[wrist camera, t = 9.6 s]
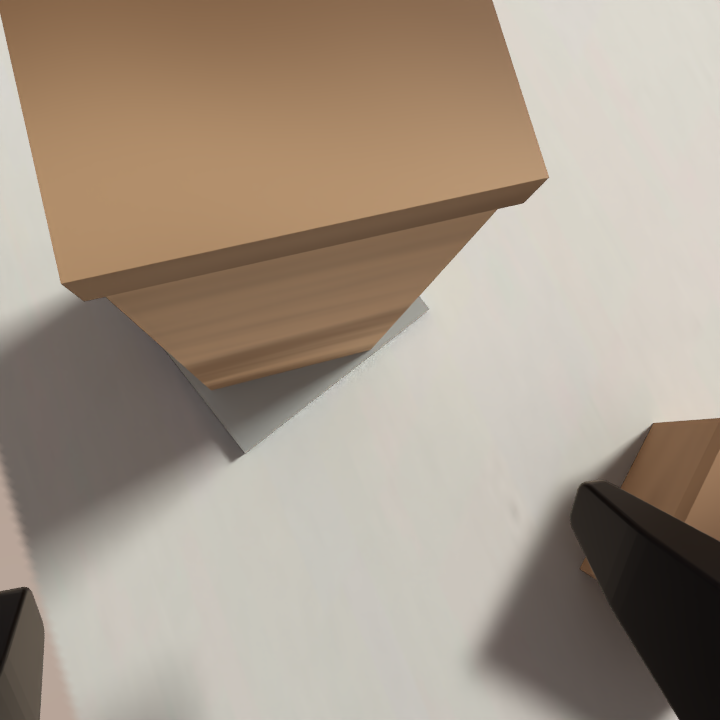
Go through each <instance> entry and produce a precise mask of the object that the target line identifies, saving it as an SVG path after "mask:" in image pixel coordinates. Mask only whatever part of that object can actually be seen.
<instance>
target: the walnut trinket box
mask: <svg viewBox="0 0 720 720" xmlns="http://www.w3.org/2000/svg"><path fill="white" fill-rule="evenodd" d="M621 489H623V490H624V491H626V492H628V493H630V494H632V495H634V496H636V497H638V498H640V499H641V500H643V501H645V502H647V503H649V504H651V505H653V506H655V507H656V508H658V509H660V510H662V511H664V512H666V513H668V514H670V515H671V516H673V517H675V518H677V519H679V520H681V521H683V522H685V523H687V524H688V525H690V526H692V527H694V528H696V529H698V530H700V531H702V532H703V533H705V534H707V535H709V536H711V537H713V538H715V539H717V540H718V541H720V418H715V419H702V420H688V421H675V422H662V423H653V425H652V427H651V429H650V431H649V433H648V435H647V437H646V439H645V441H644V443H643V445H642V447H641V449H640V451H639V453H638V455H637V456H636V458H635V460H634V462H633V464H632V466H631V468H630V470H629V472H628V474H627V476H626V478H625V480H624V482H623V484H622V486H621ZM580 570H582V571H583V572H585V573H586V574H588V575H589V576H591V577H593V578H594V579H596V577H595V575H594V573H593V571H592V569H591V567H590V565H589V563H588V561H587V558H586V557H585V559H584V561H583V563H582V565H581V567H580ZM596 580H597V579H596Z"/></svg>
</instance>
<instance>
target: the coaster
mask: <svg viewBox="0 0 720 720" xmlns="http://www.w3.org/2000/svg"><path fill="white" fill-rule="evenodd" d="M428 310H429V308H428V307H427V305H426V304H425V303H424V302H423V300H422V299H421V298H420V297H418V298H417V299H416V300H415V301H414V302H413V303H412V305H411V306H410V307H409V308H408V309H407V310H406V311H405V312H404V313H403V315H402V316H401V317H400V318H399V319H398V320H397V321H396V322H395V323H394V325H393V326H392V327H391V328H390V329H389V330H388V331H387V332H386V333H385V334H384V336H383V337H382V338H381V339H380V340H379V341H378V342H377V343H376V344H375V346H374V347H373V348H372V349H371V350H368V351H364V352H360V353H356V354H353V355H349V356H345V357H341V358H337V359H333V360H329V361H325V362H321V363H317V364H313V365H309V366H306V367H302V368H298V369H294V370H290V371H286V372H282V373H278V374H274V375H270V376H266V377H262V378H258V379H255V380H251V381H247V382H243V383H239V384H235V385H231V386H227V387H223V388H219V389H215V390H210V389H209V388H208V387H207V386H205V385H204V384H203V383H202V382H201V381H200V380H199V379H198V378H196V377H195V376H194V375H193V374H192V373H191V372H190V371H189V370H187V369H186V368H185V367H184V366H183V365H182V364H181V363H180V362H178V361H177V360H176V359H175V358H174V357H173V356H172V355H170V354H169V353H168V352H167V351H166V350H165V349H164V348H163V349H164V350H165V351H166V352H167V354H168V355H169V356H170V358H171V359H172V360H173V361H174V363H175V364H176V365H177V367H178V368H179V369H180V370H181V372H182V373H183V374H184V376H185V377H186V378H187V379H188V381H189V382H190V383H191V385H192V386H193V387H194V388H195V390H196V391H197V392H198V394H199V395H200V396H201V397H202V399H203V400H204V401H205V403H206V404H207V405H208V406H209V408H210V409H211V410H212V412H213V413H214V414H215V415H216V417H217V418H218V419H219V421H220V422H221V423H222V424H223V426H224V427H225V428H226V430H227V431H228V432H229V433H230V435H231V436H232V437H233V439H234V440H235V441H236V442H237V444H238V445H239V446H240V448H241V449H242V450H243V451H244V453H247V452H248V451H249V450H250V449H252V448H253V447H254V446H256V445H257V444H258V443H259V442H261V441H262V440H263V439H265V438H266V437H267V436H268V435H270V434H271V433H272V432H273V431H275V430H276V429H277V428H279V427H280V426H281V425H282V424H284V423H285V422H286V421H288V420H289V419H290V418H291V417H293V416H294V415H295V414H297V413H298V412H299V411H300V410H302V409H303V408H304V407H305V406H307V405H308V404H309V403H311V402H312V401H313V400H314V399H316V398H317V397H318V396H320V395H321V394H322V393H323V392H325V391H326V390H327V389H328V388H330V387H331V386H332V385H334V384H335V383H336V382H337V381H339V380H340V379H341V378H343V377H344V376H345V375H346V374H348V373H349V372H350V371H351V370H353V369H354V368H355V367H357V366H358V365H359V364H360V363H362V362H363V361H364V360H366V359H367V358H368V357H369V356H371V355H372V354H373V353H375V352H376V351H377V350H378V349H380V348H381V347H382V346H383V345H385V344H386V343H387V342H389V341H390V340H391V339H392V338H394V337H395V336H396V335H398V334H399V333H400V332H401V331H403V330H404V329H405V328H406V327H408V326H409V325H410V324H412V323H413V322H414V321H415V320H417V319H418V318H419V317H421V316H422V315H423V314H424V313H426V312H427V311H428Z"/></svg>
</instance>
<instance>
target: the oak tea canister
mask: <svg viewBox="0 0 720 720" xmlns="http://www.w3.org/2000/svg"><path fill="white" fill-rule="evenodd" d="M0 14H1V19H2V23H3V27H4V32H5V36H6V41H7V45H8V50H9V54H10V59H11V63H12V68H13V72H14V76H15V81H16V85H17V90H18V94H19V99H20V103H21V108H22V112H23V116H24V121H25V125H26V130H27V134H28V139H29V143H30V148H31V152H32V157H33V161H34V165H35V170H36V174H37V179H38V183H39V188H40V192H41V197H42V201H43V206H44V210H45V214H46V219H47V223H48V228H49V232H50V237H51V241H52V246H53V250H54V255H55V259H56V263H57V268H58V272H59V277H60V281H61V284H62V285H63V286H65V287H66V288H67V289H69V290H70V291H71V292H72V293H74V294H75V295H76V296H78V297H79V298H80V299H82V300H83V301H89V300H93V299H98V298H102V297H106V298H107V299H108V300H110V301H111V302H112V303H113V304H114V305H115V306H116V307H118V308H119V309H120V310H121V311H122V312H123V313H124V314H125V315H127V316H128V317H129V318H130V319H131V320H132V321H133V322H134V323H136V324H137V325H138V326H139V327H140V328H141V329H142V330H143V331H145V332H146V333H147V334H148V335H149V336H150V337H151V338H152V339H154V340H155V341H156V342H157V343H158V344H159V345H160V346H161V347H163V348H164V349H165V350H166V351H167V352H168V353H169V354H170V355H172V356H173V357H174V358H175V359H176V360H177V361H178V362H180V363H181V364H182V365H183V366H184V367H185V368H186V369H187V370H189V371H190V372H191V373H192V374H193V375H194V376H195V377H196V378H198V379H199V380H200V381H201V382H202V383H203V384H204V385H205V386H207V387H208V388H209V389H210V390H215V389H219V388H223V387H227V386H231V385H235V384H239V383H243V382H247V381H251V380H255V379H258V378H262V377H266V376H270V375H274V374H278V373H282V372H286V371H290V370H294V369H298V368H302V367H306V366H309V365H313V364H317V363H321V362H325V361H329V360H333V359H337V358H341V357H345V356H349V355H353V354H356V353H360V352H364V351H368V350H371V349H372V348H373V347H374V346H375V344H376V343H377V342H378V341H379V340H380V339H381V338H382V337H383V336H384V334H385V333H386V332H387V331H388V330H389V329H390V328H391V327H392V326H393V325H394V323H395V322H396V321H397V320H398V319H399V318H400V317H401V316H402V315H403V313H404V312H405V311H406V310H407V309H408V308H409V307H410V306H411V305H412V303H413V302H414V301H415V300H416V299H417V298H418V297H419V296H420V295H421V293H422V292H423V291H424V290H425V289H426V288H427V287H428V286H429V285H430V283H431V282H432V281H433V280H434V279H435V278H436V277H437V276H438V275H439V274H440V272H441V271H442V270H443V269H444V268H445V267H446V266H447V265H448V264H449V262H450V261H451V260H452V259H453V258H454V257H455V256H456V255H457V254H458V252H459V251H460V250H461V249H462V248H463V247H464V246H465V245H466V244H467V242H468V241H469V240H470V239H471V238H472V237H473V236H474V235H475V234H476V233H477V231H478V230H479V229H480V228H481V227H482V226H483V225H484V224H485V223H486V221H487V220H488V219H489V218H490V217H491V216H492V215H493V214H494V213H495V211H496V210H497V209H500V208H504V207H509V206H513V205H518V204H522V203H524V202H525V201H526V200H527V199H528V198H529V197H530V196H531V195H532V194H533V193H534V192H535V191H536V190H537V189H538V188H539V187H540V186H541V185H542V184H543V183H544V182H545V181H546V180H547V179H548V178H549V176H548V173H547V170H546V167H545V163H544V160H543V157H542V154H541V151H540V148H539V145H538V142H537V139H536V135H535V132H534V129H533V126H532V123H531V120H530V117H529V114H528V111H527V107H526V104H525V101H524V98H523V95H522V92H521V89H520V86H519V82H518V79H517V76H516V73H515V70H514V67H513V64H512V61H511V58H510V54H509V51H508V48H507V45H506V42H505V39H504V36H503V33H502V30H501V26H500V23H499V20H498V17H497V14H496V11H495V8H494V5H493V2H492V0H0Z"/></svg>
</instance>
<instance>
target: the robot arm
mask: <svg viewBox="0 0 720 720" xmlns="http://www.w3.org/2000/svg"><path fill="white" fill-rule="evenodd" d="M570 522H571V526H572V529H573V532H574V534H575V536H576V538H577V540H578V542H579V544H580V546H581V548H582V550H583V552H584V554H585V556H586V558H587V561H588V563H589V565H590V567H591V569H592V571H593V573H594V575H595V577H596V579H597V581H598V583H599V585H600V587H601V589H602V592H603V594H604V595H605V597H606V599H607V601H608V603H609V605H610V607H611V608H612V610H613V612H614V614H615V615H616V617H617V619H618V620H619V622H620V624H621V625H622V627H623V629H624V630H625V632H626V634H627V635H628V637H629V638H630V640H631V642H632V643H633V645H634V647H635V648H636V650H637V652H638V653H639V655H640V657H641V658H642V660H643V661H644V663H645V665H646V666H647V668H648V670H649V671H650V673H651V675H652V676H653V678H654V679H655V681H656V683H657V684H658V686H659V688H660V689H661V691H662V693H663V694H664V696H665V697H666V699H667V701H668V702H669V704H670V706H671V707H672V709H673V711H674V712H675V714H676V716H677V717H678V719H679V720H720V541H718V540H717V539H715V538H713V537H711V536H709V535H707V534H705V533H703V532H702V531H700V530H698V529H696V528H694V527H692V526H690V525H688V524H687V523H685V522H683V521H681V520H679V519H677V518H675V517H673V516H671V515H670V514H668V513H666V512H664V511H662V510H660V509H658V508H656V507H655V506H653V505H651V504H649V503H647V502H645V501H643V500H641V499H640V498H638V497H636V496H634V495H632V494H630V493H628V492H626V491H624V490H623V489H621V488H619V487H617V486H615V485H613V484H611V483H609V482H607V481H605V480H594V481H588V482H584V483H582V484H581V485H580V486H579V488H578V490H577V494H576V497H575V500H574V504H573V507H572V510H571V514H570ZM43 655H44V626H43V621H42V618H41V616H40V613H39V610H38V607H37V604H36V602H35V599H34V596H33V594H32V591H31V590H30V589H29V588H27V587H21V588H16V589H10V590H5V591H0V720H40V706H41V689H42V672H43Z"/></svg>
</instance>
